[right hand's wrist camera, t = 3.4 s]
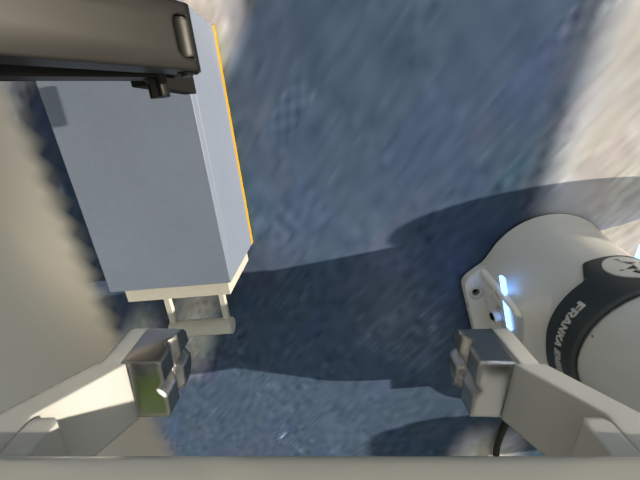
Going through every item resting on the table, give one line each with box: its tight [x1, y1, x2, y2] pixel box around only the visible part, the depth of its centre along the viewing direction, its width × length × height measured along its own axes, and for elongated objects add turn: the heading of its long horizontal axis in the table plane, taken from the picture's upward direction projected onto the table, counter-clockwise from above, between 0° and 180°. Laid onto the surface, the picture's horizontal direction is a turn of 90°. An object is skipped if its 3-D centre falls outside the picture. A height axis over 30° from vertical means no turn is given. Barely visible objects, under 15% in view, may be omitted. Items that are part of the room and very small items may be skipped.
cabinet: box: [36, 0, 253, 292], centre depth 31 cm, size 22×11×10 cm, turn 5°
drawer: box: [125, 254, 248, 337], centre depth 33 cm, size 26×10×8 cm, turn 5°
